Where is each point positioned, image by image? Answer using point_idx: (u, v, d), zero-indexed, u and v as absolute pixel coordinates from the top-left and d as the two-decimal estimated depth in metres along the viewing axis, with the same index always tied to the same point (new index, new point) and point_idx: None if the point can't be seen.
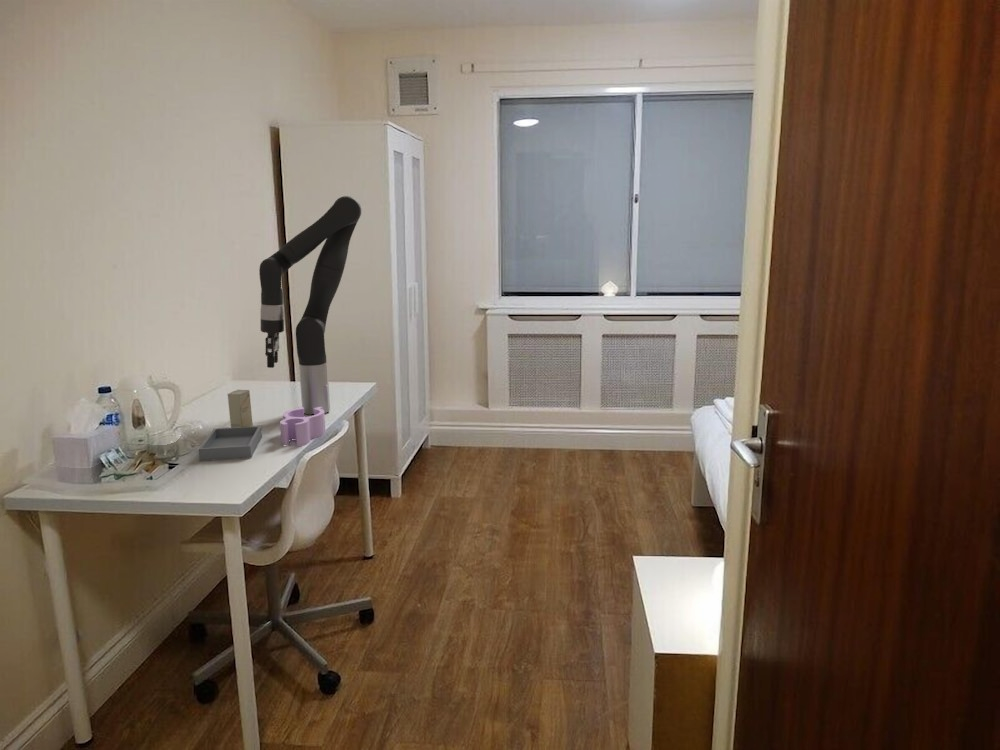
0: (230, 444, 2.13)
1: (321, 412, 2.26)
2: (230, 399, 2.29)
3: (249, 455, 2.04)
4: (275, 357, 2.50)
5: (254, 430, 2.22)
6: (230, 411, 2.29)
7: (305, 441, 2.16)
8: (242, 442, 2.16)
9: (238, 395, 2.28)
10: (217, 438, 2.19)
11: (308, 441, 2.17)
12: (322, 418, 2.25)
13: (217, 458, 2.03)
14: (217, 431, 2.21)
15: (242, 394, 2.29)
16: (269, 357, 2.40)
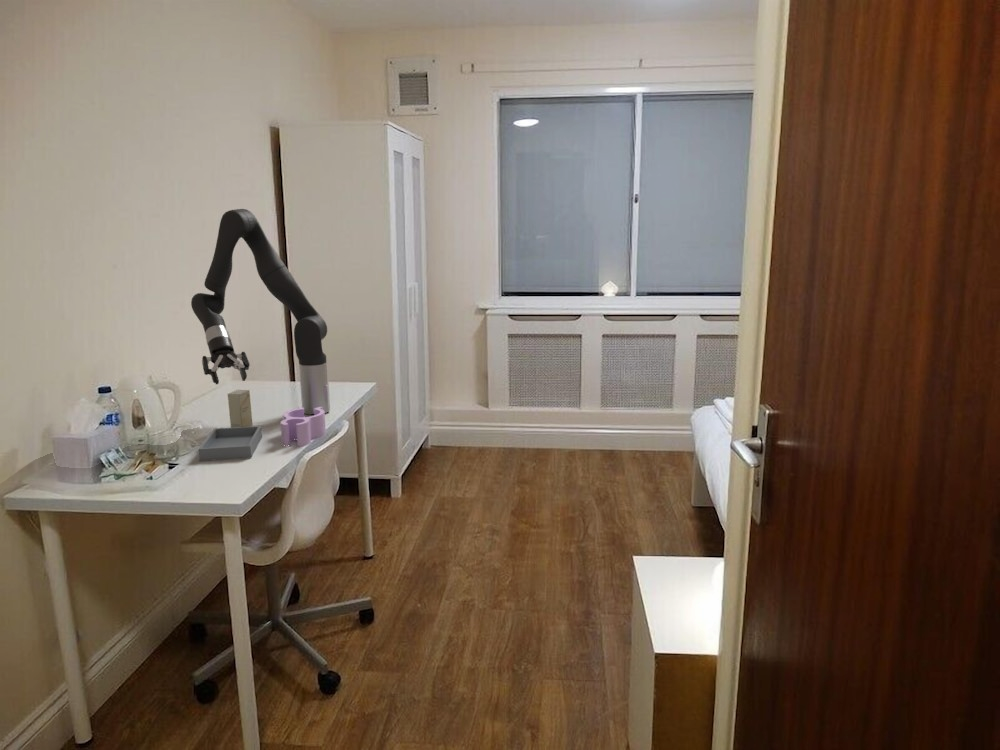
0: (230, 444, 2.13)
1: (321, 412, 2.26)
2: (230, 399, 2.29)
3: (249, 455, 2.04)
4: (241, 374, 2.40)
5: (254, 430, 2.22)
6: (230, 411, 2.29)
7: (306, 441, 2.16)
8: (242, 442, 2.16)
9: (238, 395, 2.28)
10: (217, 438, 2.19)
11: (309, 441, 2.17)
12: (322, 418, 2.24)
13: (217, 458, 2.03)
14: (217, 431, 2.21)
15: (242, 394, 2.29)
16: (211, 374, 2.36)
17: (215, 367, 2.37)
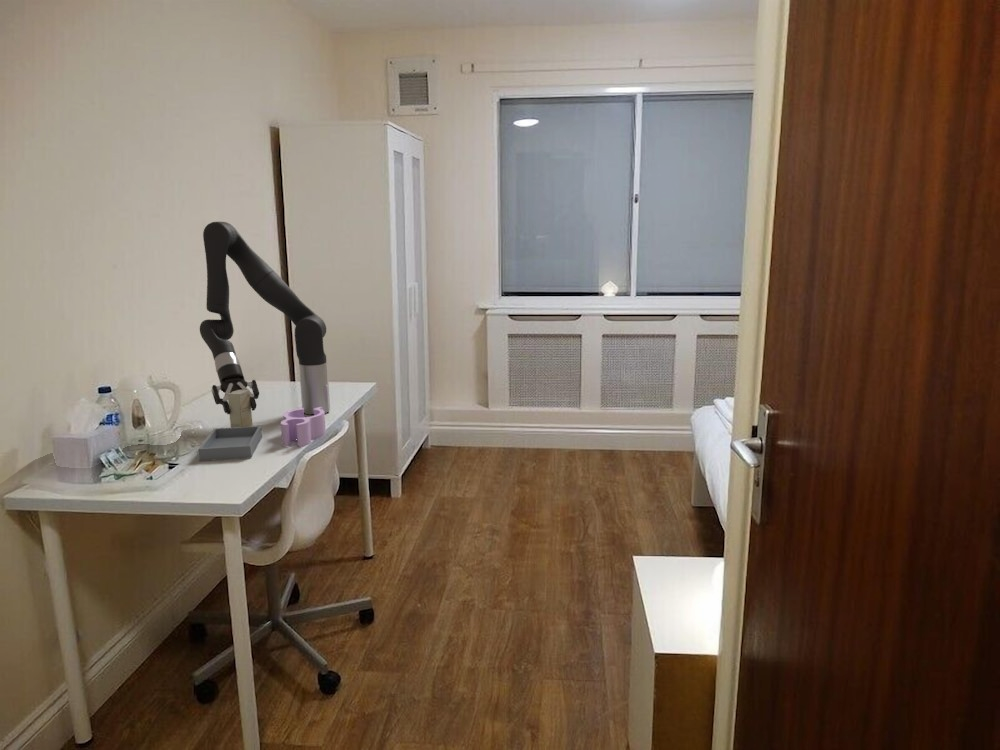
0: (230, 444, 2.13)
1: (321, 412, 2.25)
2: (230, 399, 2.28)
3: (249, 455, 2.04)
4: (251, 403, 2.33)
5: (254, 430, 2.22)
6: (230, 411, 2.29)
7: (306, 441, 2.16)
8: (242, 442, 2.16)
9: (238, 395, 2.28)
10: (217, 438, 2.19)
11: (309, 441, 2.17)
12: (322, 418, 2.24)
13: (217, 458, 2.03)
14: (217, 431, 2.21)
15: (242, 394, 2.29)
16: (222, 404, 2.30)
17: (226, 396, 2.30)
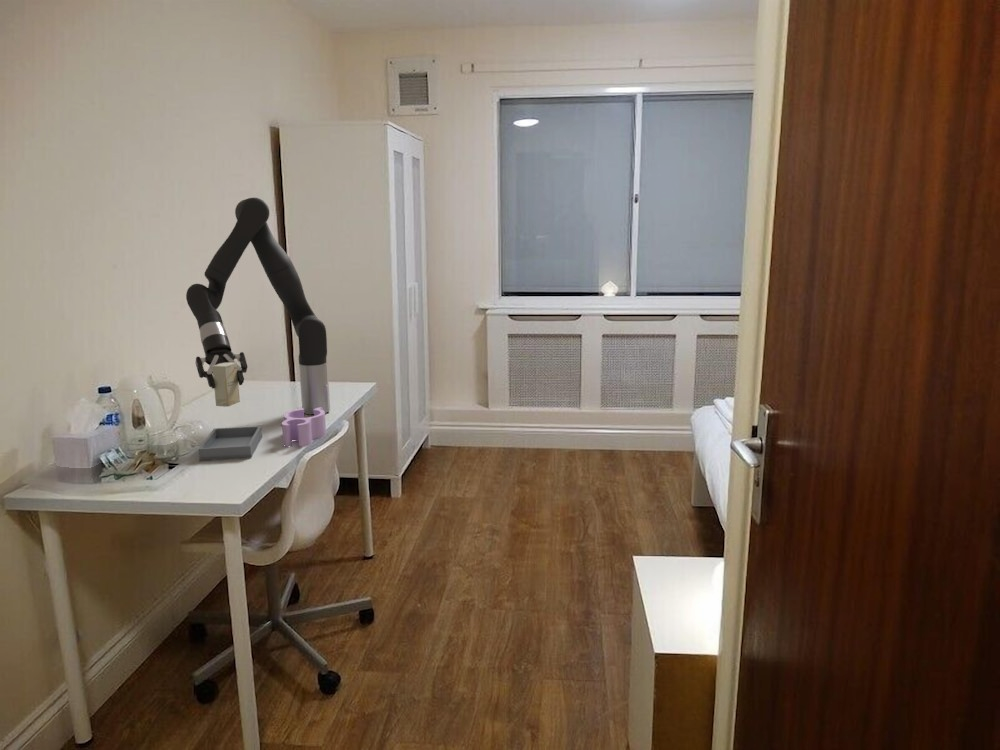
0: (230, 444, 2.13)
1: (322, 413, 2.25)
2: (215, 372, 2.10)
3: (249, 455, 2.04)
4: (238, 377, 2.14)
5: (254, 430, 2.22)
6: (215, 385, 2.11)
7: (308, 442, 2.15)
8: (242, 442, 2.16)
9: (223, 367, 2.09)
10: (217, 438, 2.19)
11: (310, 442, 2.17)
12: (323, 419, 2.24)
13: (217, 458, 2.03)
14: (217, 431, 2.21)
15: (228, 366, 2.10)
16: (206, 377, 2.11)
17: (211, 369, 2.11)
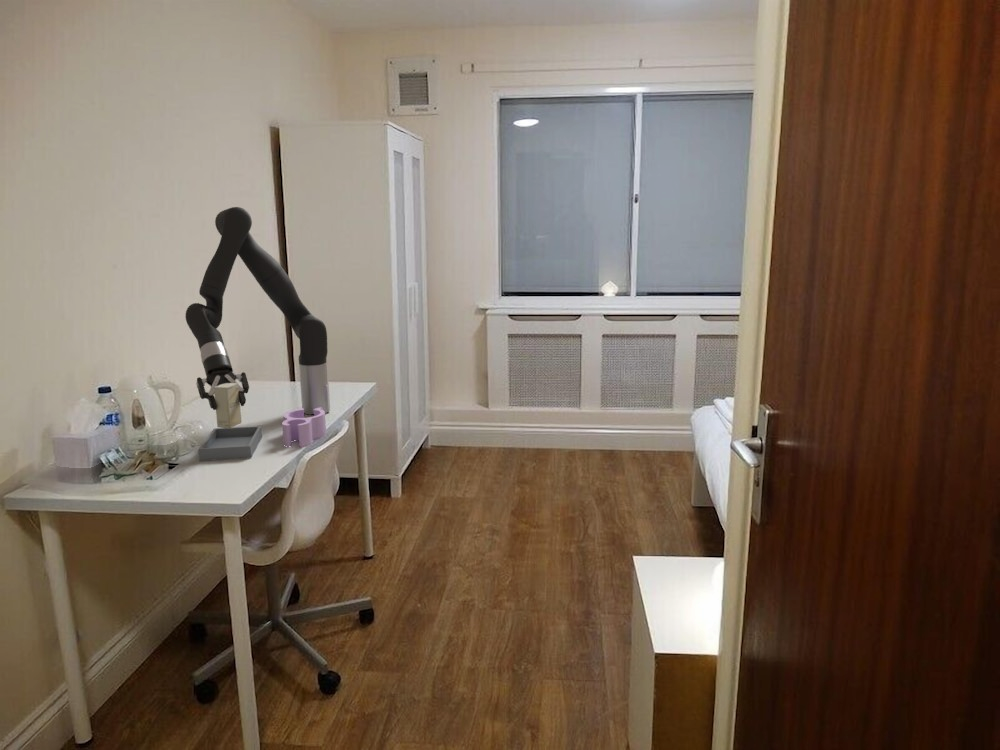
0: (230, 444, 2.13)
1: (322, 413, 2.25)
2: (216, 393, 2.07)
3: (249, 455, 2.04)
4: (240, 398, 2.12)
5: (254, 430, 2.22)
6: None
7: (308, 442, 2.15)
8: (242, 442, 2.16)
9: (225, 389, 2.06)
10: (217, 438, 2.19)
11: (310, 442, 2.17)
12: (323, 419, 2.24)
13: (217, 458, 2.03)
14: (217, 431, 2.21)
15: (230, 388, 2.08)
16: (208, 398, 2.08)
17: (212, 390, 2.09)
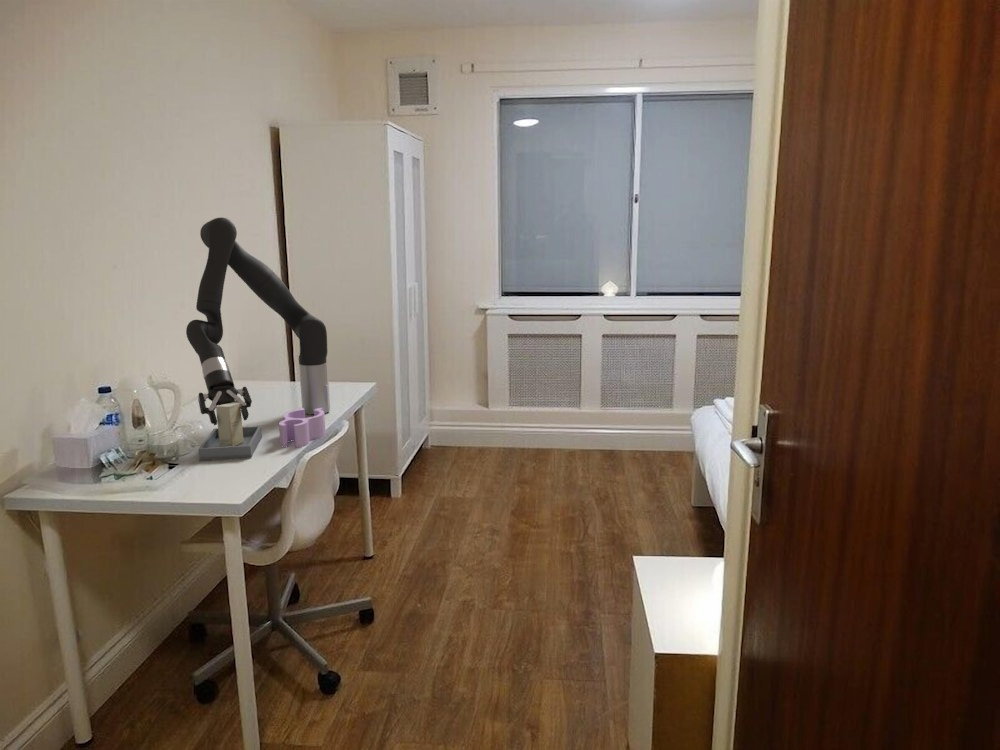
0: None
1: (321, 413, 2.25)
2: (219, 412, 2.09)
3: (249, 455, 2.04)
4: (243, 413, 2.13)
5: (254, 430, 2.22)
6: (219, 425, 2.10)
7: (304, 442, 2.15)
8: (242, 442, 2.16)
9: (227, 408, 2.08)
10: (217, 438, 2.19)
11: (307, 442, 2.16)
12: (322, 419, 2.23)
13: (217, 458, 2.03)
14: (217, 431, 2.21)
15: (232, 407, 2.09)
16: (208, 414, 2.09)
17: (213, 405, 2.10)
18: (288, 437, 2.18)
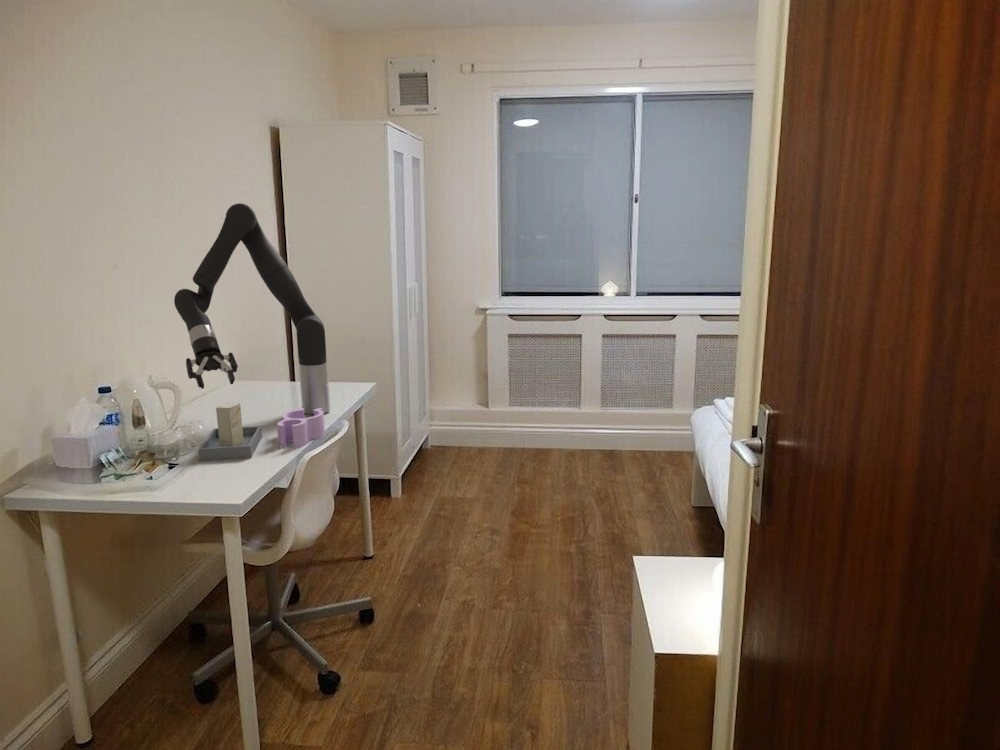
0: None
1: (320, 413, 2.24)
2: (219, 413, 2.08)
3: (249, 455, 2.04)
4: (229, 377, 2.22)
5: (254, 430, 2.22)
6: (219, 426, 2.09)
7: (302, 443, 2.14)
8: None
9: (227, 409, 2.08)
10: (217, 438, 2.19)
11: (305, 443, 2.16)
12: (321, 419, 2.23)
13: (217, 458, 2.03)
14: (217, 431, 2.21)
15: (232, 408, 2.09)
16: (196, 378, 2.18)
17: (200, 370, 2.18)
18: (287, 437, 2.18)
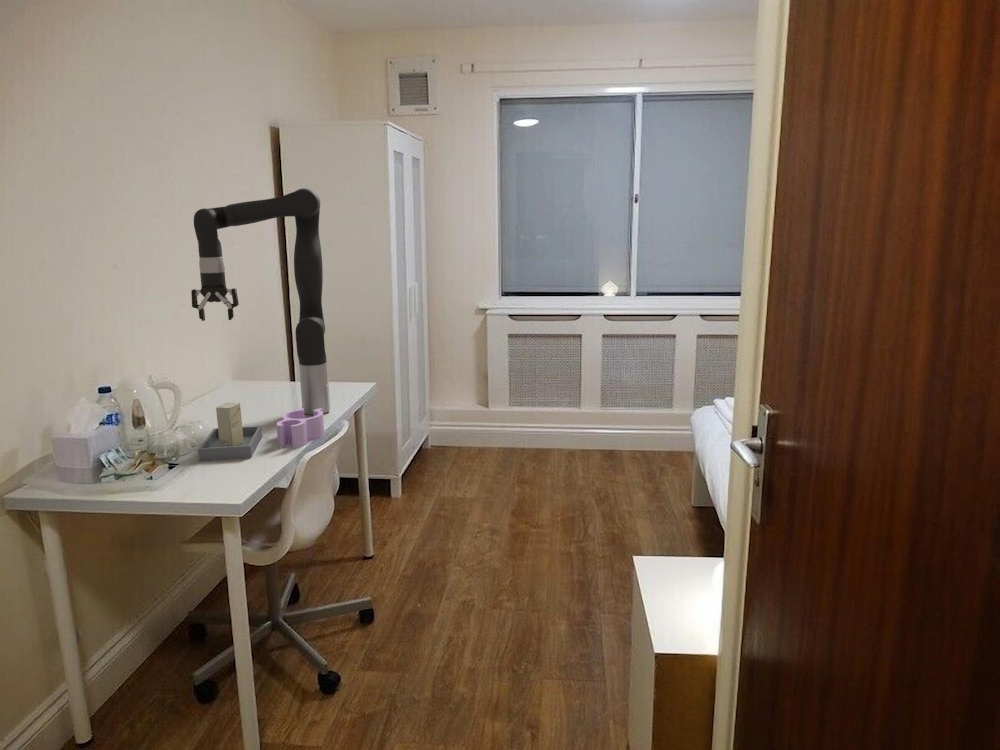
0: None
1: (320, 414, 2.24)
2: (219, 413, 2.08)
3: (249, 455, 2.04)
4: None
5: (254, 430, 2.22)
6: (219, 426, 2.09)
7: (301, 443, 2.14)
8: None
9: (227, 409, 2.08)
10: (217, 438, 2.19)
11: (304, 443, 2.15)
12: (320, 420, 2.23)
13: (217, 458, 2.03)
14: (217, 431, 2.21)
15: (232, 408, 2.09)
16: (199, 309, 2.39)
17: (202, 304, 2.37)
18: (286, 437, 2.18)
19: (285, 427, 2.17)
